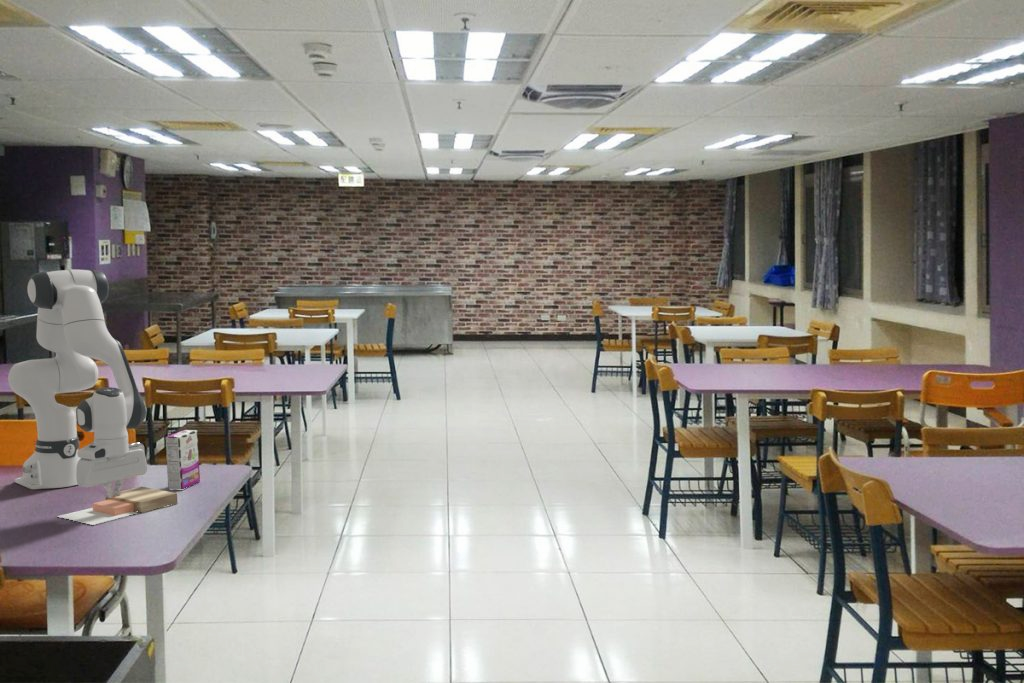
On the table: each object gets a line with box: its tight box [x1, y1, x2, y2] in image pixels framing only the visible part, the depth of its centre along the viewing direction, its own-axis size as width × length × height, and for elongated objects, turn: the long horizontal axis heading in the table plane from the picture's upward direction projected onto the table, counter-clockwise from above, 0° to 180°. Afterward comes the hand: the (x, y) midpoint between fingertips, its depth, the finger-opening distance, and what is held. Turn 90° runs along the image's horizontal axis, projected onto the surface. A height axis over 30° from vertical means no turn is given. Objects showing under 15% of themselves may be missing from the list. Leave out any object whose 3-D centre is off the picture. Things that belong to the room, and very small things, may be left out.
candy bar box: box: [164, 429, 201, 490], centre depth 316 cm, size 11×5×16 cm, turn 168°
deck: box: [104, 486, 178, 513], centre depth 295 cm, size 16×12×3 cm
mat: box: [56, 507, 138, 526], centre depth 283 cm, size 16×14×1 cm
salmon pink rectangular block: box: [92, 499, 134, 516], centre depth 287 cm, size 10×6×2 cm, turn 56°
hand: (114, 496), depth 287 cm, fingers closed
